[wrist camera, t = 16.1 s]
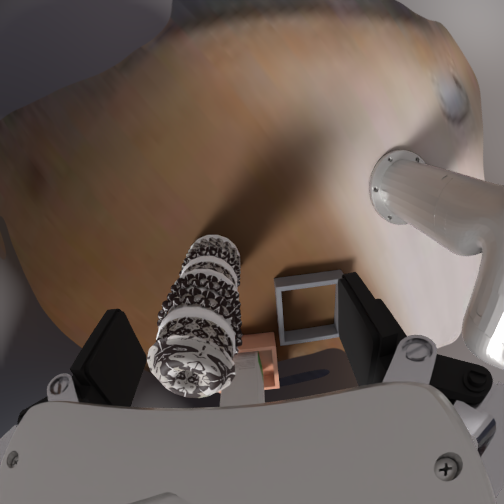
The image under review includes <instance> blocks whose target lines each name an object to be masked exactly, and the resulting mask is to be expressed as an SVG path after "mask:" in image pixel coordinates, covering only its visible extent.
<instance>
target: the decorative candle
mask: <svg viewBox="0 0 504 504" xmlns="http://www.w3.org/2000/svg"><path fill="white" fill-rule="evenodd" d="M240 268H241V266H240V254H239V252H238V250H237V247H236V245H235V244H234V243H232V242H231V241H230V240H229V239H228V238H226V237H223V236H220V235H206V236H203V237H201V238H199V239H197V240H196V241H195V243H194V244H193V245H192V246H191V248H190V249H189V250H188V253H187V254H186V258H185V259H184V263H183V264H182V270H181V271H180V273H179V275H180V278H179V279H178V280H177V281H176V282H175V284H174V285H172V286H171V291H172V293H169V294H168V296H167V300H168V301H164V302H163V304H162V310H161V311H159V313H158V318H159V320H158V322H157V325H158V327H159V330H158V334H157V338H156V343H155V344H154V345H153V346H152V347H151V348H150V349H149V352H148V357H147V362H148V365H149V368H150V370H151V372H152V373H153V374H154V376H155V377H156V378H158V380H159V381H160V382H161V383H162V384H163V385H164V386H165V387H166V388H167V389H168V390H170V391H172V392H174V393H175V394H178V395H181V396H185V397H191V398H201V397H206V396H210V395H212V394H213V393H216V392H220V391H221V390H223V389H224V388H226V387H228V386H229V385H230V384H231V382H232V380H233V379H234V377H235V363H234V362H233V356H234V355H237V354H238V351H239V350H238V346H242V339H241V338H242V331H241V328H240V327H241V325H242V321H241V319H240V318H241V313H240V309H239V308H240V306H241V304H240V302H239V294H238V291H237V287H238V286H239V285H240V281H239V280H240V273H241V271H240ZM168 311H169V312H168ZM167 312H168V315H167ZM163 318H164V319H163ZM235 336H236V337H235Z"/></svg>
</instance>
